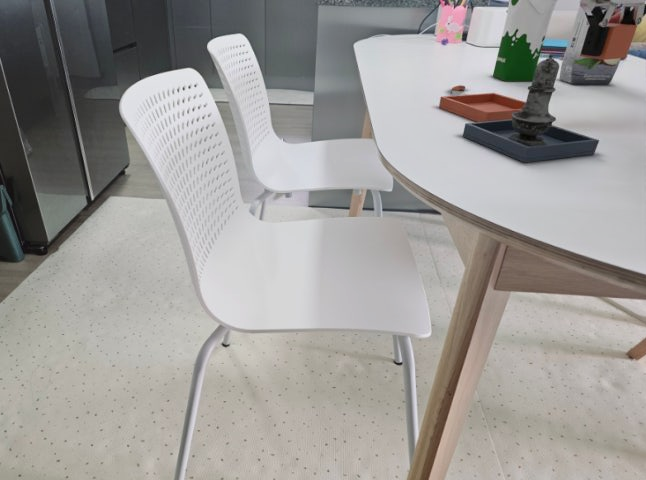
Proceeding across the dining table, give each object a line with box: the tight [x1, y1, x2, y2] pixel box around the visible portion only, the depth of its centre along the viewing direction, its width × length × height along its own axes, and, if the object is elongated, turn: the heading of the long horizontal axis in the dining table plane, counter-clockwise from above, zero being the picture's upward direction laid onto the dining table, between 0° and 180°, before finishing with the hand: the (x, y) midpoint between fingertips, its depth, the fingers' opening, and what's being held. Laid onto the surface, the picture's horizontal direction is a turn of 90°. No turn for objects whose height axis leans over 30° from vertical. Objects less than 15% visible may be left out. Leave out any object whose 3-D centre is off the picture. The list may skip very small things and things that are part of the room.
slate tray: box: [462, 119, 600, 163], centre depth 69 cm, size 12×13×2 cm
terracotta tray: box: [438, 92, 526, 122], centre depth 85 cm, size 12×13×2 cm
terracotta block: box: [580, 23, 638, 60], centre depth 72 cm, size 4×4×4 cm
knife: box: [449, 84, 466, 96], centre depth 100 cm, size 13×1×3 cm
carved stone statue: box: [507, 51, 560, 146], centre depth 66 cm, size 6×6×12 cm
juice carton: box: [559, 4, 634, 86], centre depth 105 cm, size 9×10×27 cm
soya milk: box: [492, 0, 558, 82], centre depth 111 cm, size 9×9×20 cm
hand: (603, 52), depth 73 cm, fingers closed on terracotta block, 4 cm apart
